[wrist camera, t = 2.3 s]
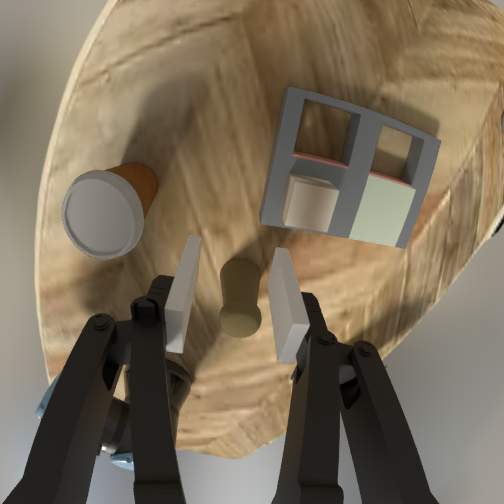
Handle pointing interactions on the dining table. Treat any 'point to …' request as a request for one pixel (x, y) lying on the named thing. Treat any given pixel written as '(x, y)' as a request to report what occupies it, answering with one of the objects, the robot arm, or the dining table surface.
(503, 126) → the cupcake
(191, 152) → the dining table surface
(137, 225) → the disposable coffee cup
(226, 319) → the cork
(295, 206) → the block
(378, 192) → the board
